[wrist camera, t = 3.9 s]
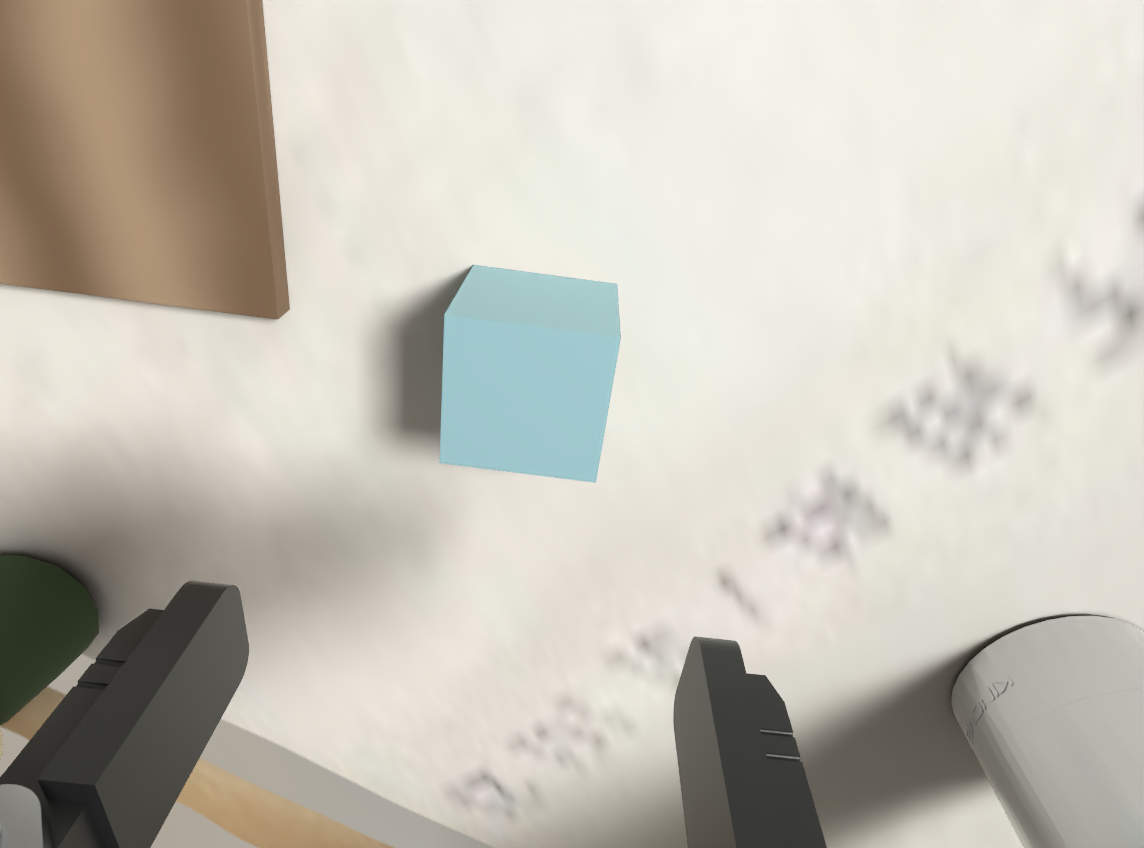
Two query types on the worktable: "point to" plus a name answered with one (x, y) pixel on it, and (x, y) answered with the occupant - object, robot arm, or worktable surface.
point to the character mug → (38, 628)
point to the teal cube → (528, 373)
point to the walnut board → (140, 153)
